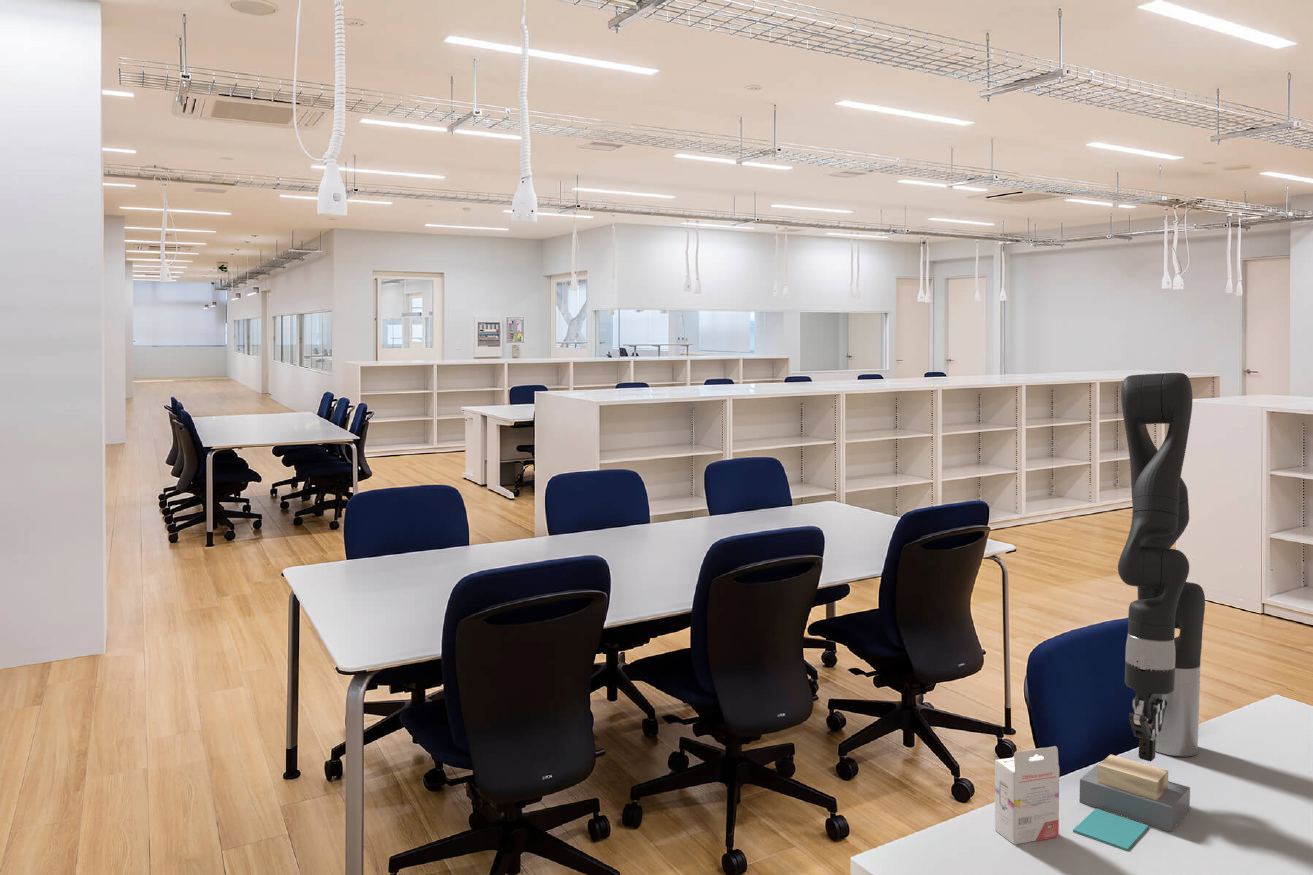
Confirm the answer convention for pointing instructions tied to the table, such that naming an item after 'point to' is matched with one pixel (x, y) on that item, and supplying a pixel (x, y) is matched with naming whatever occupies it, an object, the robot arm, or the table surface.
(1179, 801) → the grey rectangular block
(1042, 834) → the ink cartridge box
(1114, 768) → the maple tile
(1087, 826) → the teal rubber mat
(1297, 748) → the table surface
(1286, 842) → the table surface
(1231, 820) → the table surface
